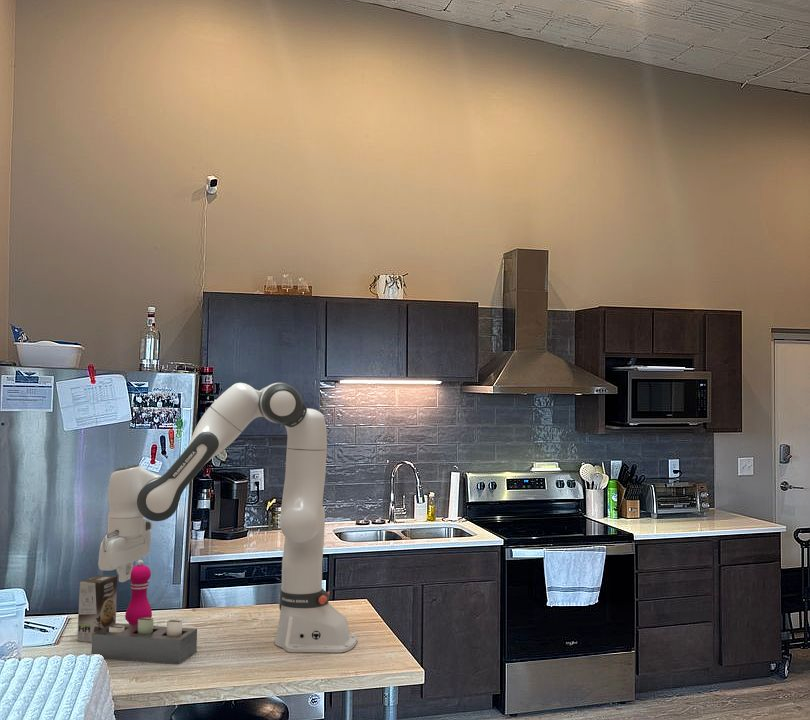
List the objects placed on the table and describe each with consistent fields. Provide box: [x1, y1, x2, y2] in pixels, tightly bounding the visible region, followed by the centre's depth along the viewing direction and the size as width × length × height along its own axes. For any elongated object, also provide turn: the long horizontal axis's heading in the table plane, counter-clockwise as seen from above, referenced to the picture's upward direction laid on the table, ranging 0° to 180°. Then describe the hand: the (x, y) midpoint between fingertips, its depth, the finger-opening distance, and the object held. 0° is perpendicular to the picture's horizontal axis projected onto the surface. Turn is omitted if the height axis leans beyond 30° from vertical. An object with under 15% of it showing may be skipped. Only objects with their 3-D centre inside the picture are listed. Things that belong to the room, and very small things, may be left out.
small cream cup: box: [109, 625, 125, 633], centre depth 207 cm, size 4×4×5 cm
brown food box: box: [76, 574, 118, 643], centre depth 220 cm, size 9×6×16 cm
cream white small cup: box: [166, 618, 183, 637], centre depth 204 cm, size 4×4×5 cm
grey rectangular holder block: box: [91, 622, 198, 665], centre depth 205 cm, size 24×10×6 cm, turn 80°
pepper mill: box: [124, 559, 153, 625], centre depth 226 cm, size 7×7×20 cm
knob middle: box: [138, 617, 154, 635], centre depth 206 cm, size 4×4×5 cm
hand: (124, 580), depth 207 cm, fingers closed
